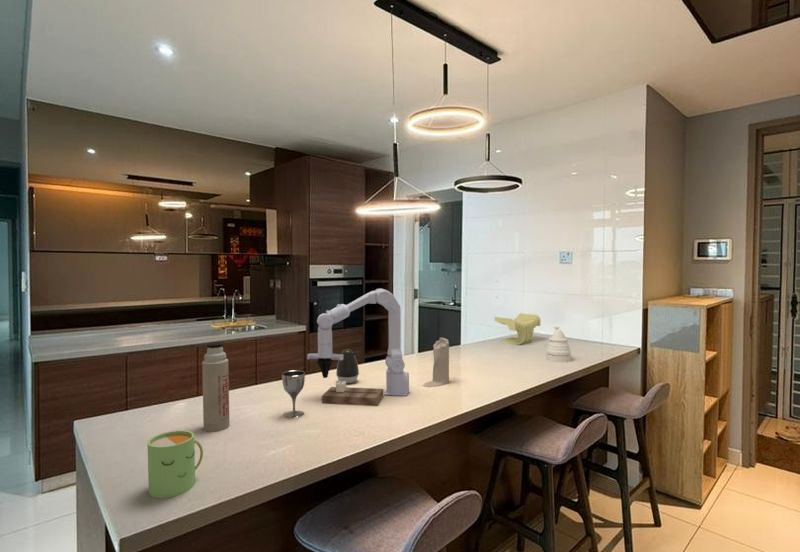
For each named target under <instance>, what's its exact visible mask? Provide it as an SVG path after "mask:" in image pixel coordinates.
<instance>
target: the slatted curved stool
mask: <svg viewBox="0 0 800 552" xmlns="http://www.w3.org/2000/svg"><path fill="white" fill-rule="evenodd" d="M494 322H497V323H499V324H502V325H506V326H508V329H509V331H511V332H516V334H517V336H515V337H513V336H511V337H506V338H503V339H502V343H506V344H507V343H508V344H512V345H522V344H527V343H531V342H532V341H533V338H534V337H533V335H534V330H535V328H536V327H537V326H538V327H541V318H540V316H539V315H537V314H532V313H523V312H521V313H519V314H518V315H517V316H516V317H515V318H514V319H513V318H507V317H506V318H505V317H497V316H494Z"/></svg>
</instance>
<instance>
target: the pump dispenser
mask: <svg viewBox="0 0 800 552" xmlns="http://www.w3.org/2000/svg"><path fill="white" fill-rule="evenodd" d="M359 353H360V351H354V352H353V350H351V349H349V348H347V349H343V350H342V351H341V353H340V354H341V355H343V360H337V364H336V365H337V366H336V373H335V374H336V377H337V379H338V382H339V381H345V382H346V385H347V384H349V383H350V384H353V383H354V382H357V381H356V380H357V379H358V377H359V375H360V372H359V371H360V370H359V364H358V360H357V358H356V355H358V354H359Z"/></svg>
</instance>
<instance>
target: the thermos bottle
mask: <svg viewBox="0 0 800 552" xmlns="http://www.w3.org/2000/svg"><path fill="white" fill-rule="evenodd" d="M223 346H224V344H223V343H221V342H213V343H208V344H206V348H207V349H206V350H207V351H206V353H204V356H203V359H204V360H203V361H202V362H201V365H202V370H201V371H202V408H203V409H202V413H203V415H202V416H203V419H202V421H203V430H204V431H205V432H212V433H213V432H221V431H223V430H226V429H228V428H229V427H230V426H231V425H230V382H229V380H230V379H229V375H230V374H229V359H228V358H227V353H226V352H225V351H224V347H223Z"/></svg>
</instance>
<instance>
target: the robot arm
mask: <svg viewBox="0 0 800 552" xmlns="http://www.w3.org/2000/svg"><path fill="white" fill-rule="evenodd" d="M367 304H370V305H371V304H372V305H373V304H375V305H376V304H378V305H381V306H383V307H384V309H385V310H387V311H388V349H387V356H386V358H385V359H384V360H385V365H386V366H387V369H386V373H385V374H386V376H385V377H386V381H385V382H386V385H385V387H386V389H385V391H384V392H383V396H401V397H402V396H405V397H406V396H408V395H409V392H410V374H409V372H408V371H404V369H405V365H406V364H405V361H404V359H403V352H402V350H401V349H402V347H401V346H402V345H401V341H402V340H401V333H402V332H401V328H402V327H401V326H402V324H401V315H402V314H401V305H400V304H399V302H398V301H397V299H396V297H395V295H394V294H393V293H392V292H390V291H389V290H388V289H384V288H381V287H380V288H379V287H378V288H376V289H375V290H371V291H369V292H367V293H365V294H363V295H362V296H360V297H358V298H356V299H355V300H353V301H351V302H349V303H348V304H344V303H341V304H340V303H338V304H337V305H336V306H335V307H334V308H332V309H330V310H328V309H327V310H325V313H324V312H323V313H321V314H319V315H318V317H317V319H316V323H317V325H318V326H317V352H316V353H308V354H307V355H306V356H307V357H306V359H307V360H317V362H316V363H317V365H318V367H319V369H320V371H321V374H322V378H323V379H326V378H329V372H330V368H331V366H332V363H333V361H335V360H336V361H339V360H343V355H341V353H340V354H338V353H333V331H332V330H333V329H332V327H333V325H334V324H337V323H339V322H341V321H343V320H345V319H346V318H348V317H350V315H351V312H353V311H355V310H357V309H360V308H361V307H363V306H365V305H367Z"/></svg>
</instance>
